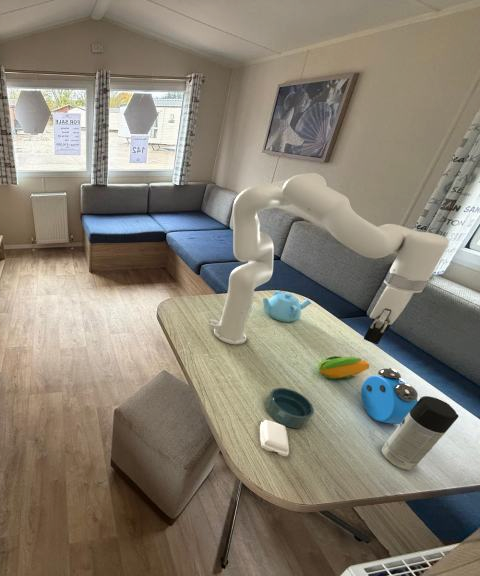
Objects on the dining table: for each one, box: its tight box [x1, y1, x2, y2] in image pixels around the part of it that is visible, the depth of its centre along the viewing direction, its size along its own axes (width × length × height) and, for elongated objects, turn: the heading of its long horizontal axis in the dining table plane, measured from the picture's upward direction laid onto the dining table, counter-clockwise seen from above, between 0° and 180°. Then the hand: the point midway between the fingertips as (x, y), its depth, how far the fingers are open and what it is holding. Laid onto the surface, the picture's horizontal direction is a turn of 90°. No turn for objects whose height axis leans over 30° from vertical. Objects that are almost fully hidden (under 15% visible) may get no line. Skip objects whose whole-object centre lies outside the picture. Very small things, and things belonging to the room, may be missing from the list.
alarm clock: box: [360, 367, 419, 426], centre depth 90 cm, size 13×6×15 cm, turn 171°
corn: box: [317, 356, 370, 380], centre depth 107 cm, size 7×8×20 cm
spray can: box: [381, 395, 459, 471], centre depth 77 cm, size 7×7×20 cm
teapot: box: [262, 290, 312, 323], centre depth 140 cm, size 15×17×11 cm
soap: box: [259, 419, 290, 457], centre depth 85 cm, size 9×7×3 cm
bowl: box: [265, 387, 315, 429], centre depth 92 cm, size 11×11×5 cm
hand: (375, 335), depth 87 cm, fingers open, 9 cm apart
